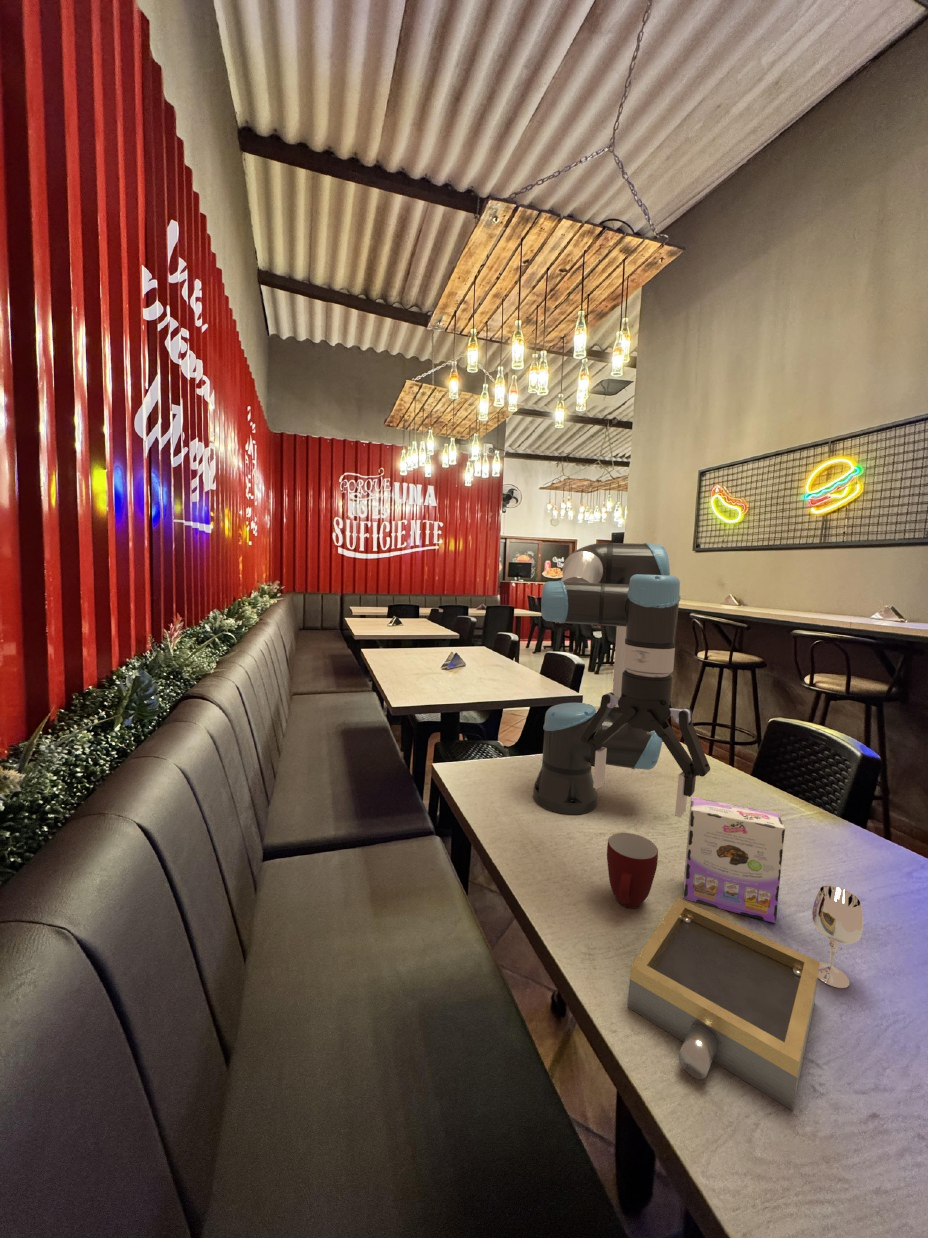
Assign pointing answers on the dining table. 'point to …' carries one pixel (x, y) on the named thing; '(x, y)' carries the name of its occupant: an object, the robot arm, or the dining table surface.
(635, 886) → the mug
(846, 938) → the wineglass
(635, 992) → the shallow drawer tray
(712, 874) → the candy box
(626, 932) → the dining table surface
